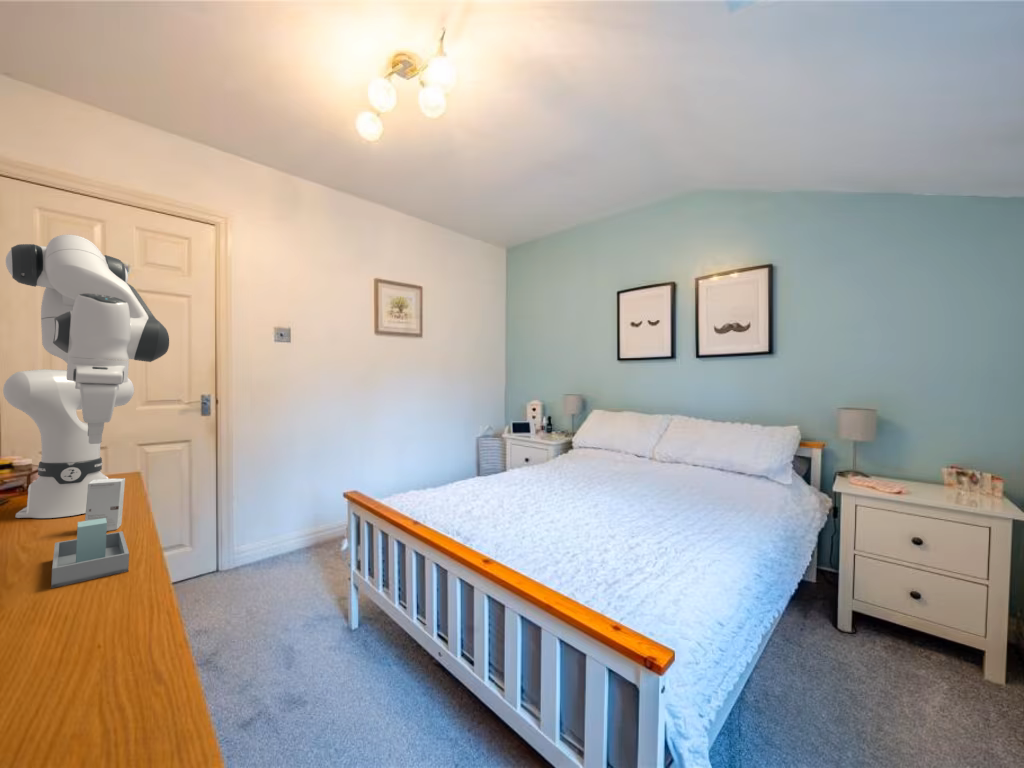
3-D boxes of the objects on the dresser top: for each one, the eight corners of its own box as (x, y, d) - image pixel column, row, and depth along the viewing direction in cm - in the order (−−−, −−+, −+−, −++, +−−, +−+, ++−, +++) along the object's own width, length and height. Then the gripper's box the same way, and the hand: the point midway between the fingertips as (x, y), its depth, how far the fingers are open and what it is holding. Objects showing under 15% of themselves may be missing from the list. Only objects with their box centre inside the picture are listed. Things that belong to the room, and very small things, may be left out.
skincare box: (83, 534, 96) (85, 483, 97) (89, 528, 100) (91, 479, 100) (118, 529, 100) (121, 480, 100) (123, 524, 104) (125, 477, 104)
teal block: (75, 562, 81) (77, 522, 81) (104, 556, 84) (105, 517, 84) (75, 568, 78) (77, 527, 78) (105, 562, 81) (106, 522, 81)
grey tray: (54, 559, 83) (55, 542, 83) (121, 546, 90) (122, 531, 90) (51, 588, 72) (52, 568, 72) (128, 571, 79) (129, 553, 79)
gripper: (76, 370, 88) (71, 433, 88) (76, 373, 74) (71, 448, 74) (116, 372, 93) (112, 432, 93) (123, 375, 79) (118, 446, 79)
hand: (94, 439), depth 83 cm, fingers open, 8 cm apart
